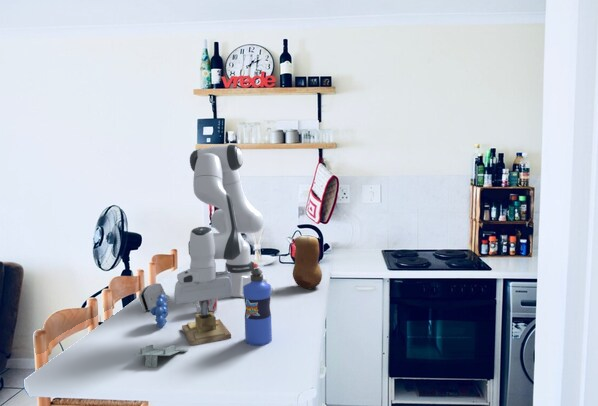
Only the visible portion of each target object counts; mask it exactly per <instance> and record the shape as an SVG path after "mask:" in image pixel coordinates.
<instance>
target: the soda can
mask: <svg viewBox="0 0 598 406" xmlns="http://www.w3.org/2000/svg"><path fill="white" fill-rule="evenodd" d="M210 304H211V300H208V306H209V305H210ZM198 307H201V301H198ZM217 310H218V298H217V299H216V302H215V304H214V305H213V311H210V312H212V313H213V314H215V312H217ZM208 313H209V312H208Z"/></svg>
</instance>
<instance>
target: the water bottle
mask: <svg viewBox="0 0 598 406" xmlns="http://www.w3.org/2000/svg"><path fill="white" fill-rule="evenodd" d="M251 273H252V275H251V282H250V283H248V284H246V285H244V286H243V293H244V298H243V299H244V304H245V309H244V310H245V312H244V336H245V339H244V341H245V344H247V345H250V346H256V347H257V346H258V347H259V346H265V345H268V344H270V343H271V342H272V339H273V337H272V335H273V334H272V333H273V331H272V313H271V296H272V292H271V287H272V286H271V284H270V283H269V282H267V283H265V282H263V275H264V274H263V275H262V273H263V271H262V270H261V269H260V268H259V267H257V268H255V269H254V270H253V271H252V272H251Z"/></svg>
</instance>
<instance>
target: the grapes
mask: <svg viewBox="0 0 598 406" xmlns="http://www.w3.org/2000/svg"><path fill="white" fill-rule="evenodd" d="M157 299H158V300H157V301H156V307H153V308H152V309H151V310H149V312H150V314H151V315H152V316H154V317H155V322H156V326H157V327H158V328H159V329H162V328H164V327H165V325H166V324H167V322H168V321H167V319H166V318H167V317H168V315H169V314H168V312H169V309H168V306H169V305H168V302H167V303H166V301H167V298H166V297H165V295H164V294H160V295H159V296H158V297H157Z"/></svg>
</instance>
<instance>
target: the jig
mask: <svg viewBox="0 0 598 406" xmlns="http://www.w3.org/2000/svg"><path fill="white" fill-rule="evenodd" d="M194 317H195V318H194V319H195V321H190V322H187V324H183V325H181V330H182V331H183V334H184V335H185V338H186V339H187V342H188V343H189V345H190V346H196V345H200V344H201V345H202V344H207V343H211V342H216V341H222V340H223V341H224V340H229V339H231V338H232V334H231V331H229V329H228V328H227V327H226V325H225V324H224V323H223V322H222V321H221V319H220V318H219V319H216V316H215V313H212V312H209V317H208V318H202V319H201V313H197V314H196V313H195V314H194Z"/></svg>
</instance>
